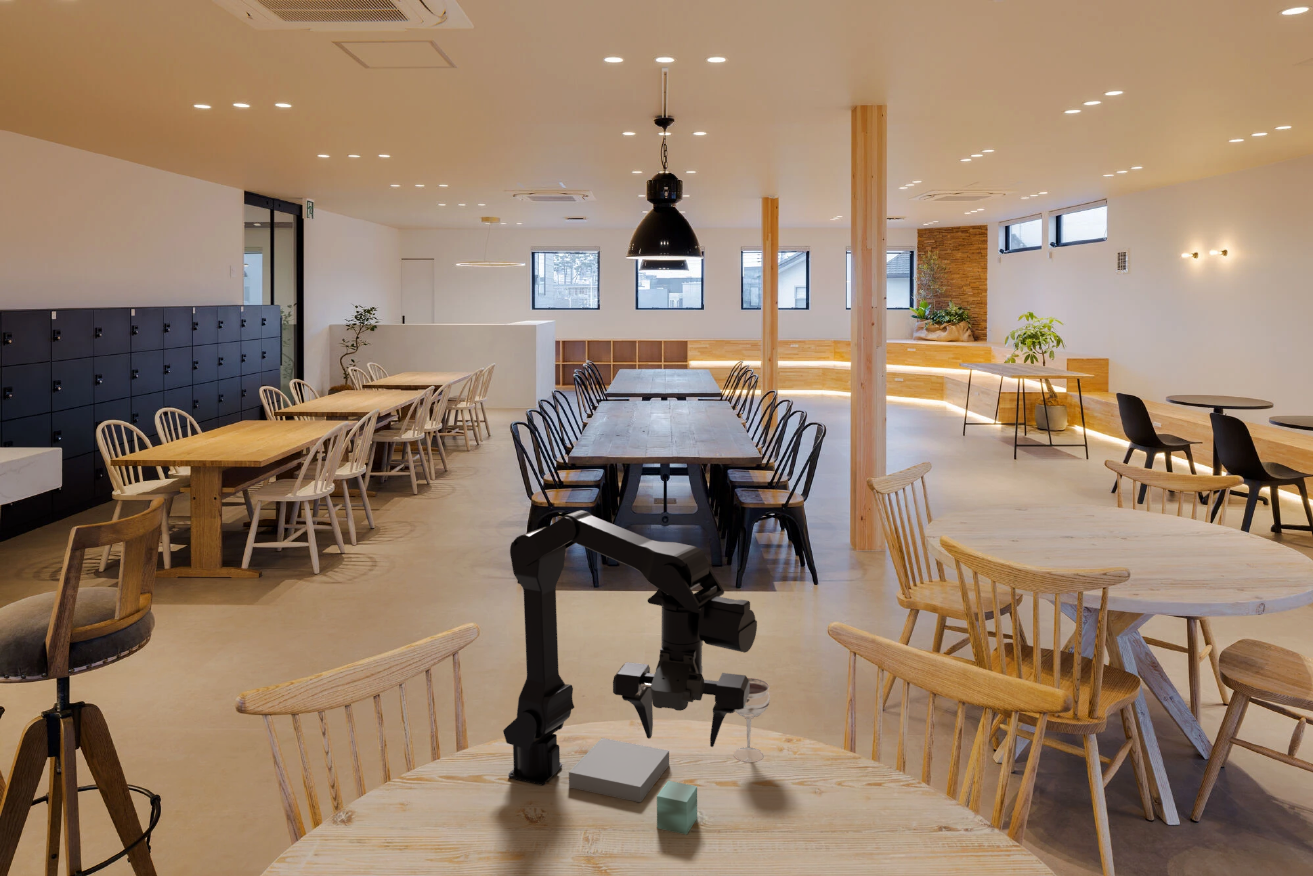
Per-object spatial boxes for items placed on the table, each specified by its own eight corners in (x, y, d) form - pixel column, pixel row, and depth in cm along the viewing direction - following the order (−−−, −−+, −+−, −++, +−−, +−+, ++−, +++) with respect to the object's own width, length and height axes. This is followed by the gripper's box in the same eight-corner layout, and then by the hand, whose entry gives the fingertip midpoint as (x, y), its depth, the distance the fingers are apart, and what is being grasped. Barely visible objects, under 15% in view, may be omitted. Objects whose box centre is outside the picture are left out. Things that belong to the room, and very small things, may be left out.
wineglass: (722, 760, 148) (723, 690, 146) (734, 741, 154) (735, 675, 152) (762, 768, 145) (763, 697, 144) (773, 749, 152) (774, 681, 150)
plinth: (569, 787, 140) (568, 772, 140) (602, 751, 151) (601, 737, 151) (640, 802, 135) (640, 787, 135) (669, 765, 146) (669, 750, 146)
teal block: (656, 828, 129) (656, 795, 128) (668, 812, 133) (668, 780, 132) (686, 835, 127) (686, 802, 127) (697, 818, 131) (697, 786, 131)
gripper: (600, 651, 121) (600, 760, 124) (737, 666, 117) (735, 779, 119) (624, 623, 132) (624, 723, 134) (751, 636, 127) (749, 740, 130)
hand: (680, 741), depth 129 cm, fingers open, 9 cm apart
